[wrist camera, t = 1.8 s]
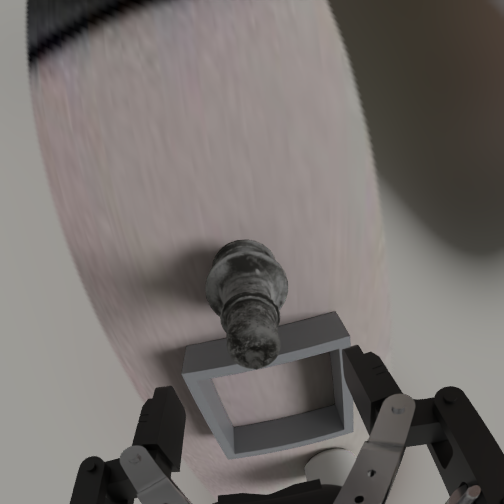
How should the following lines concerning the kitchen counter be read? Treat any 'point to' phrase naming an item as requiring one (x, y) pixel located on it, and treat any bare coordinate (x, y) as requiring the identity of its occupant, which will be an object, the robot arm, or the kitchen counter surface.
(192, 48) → the kitchen counter surface
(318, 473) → the can
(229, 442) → the bin
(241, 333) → the chess piece
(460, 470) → the robot arm
